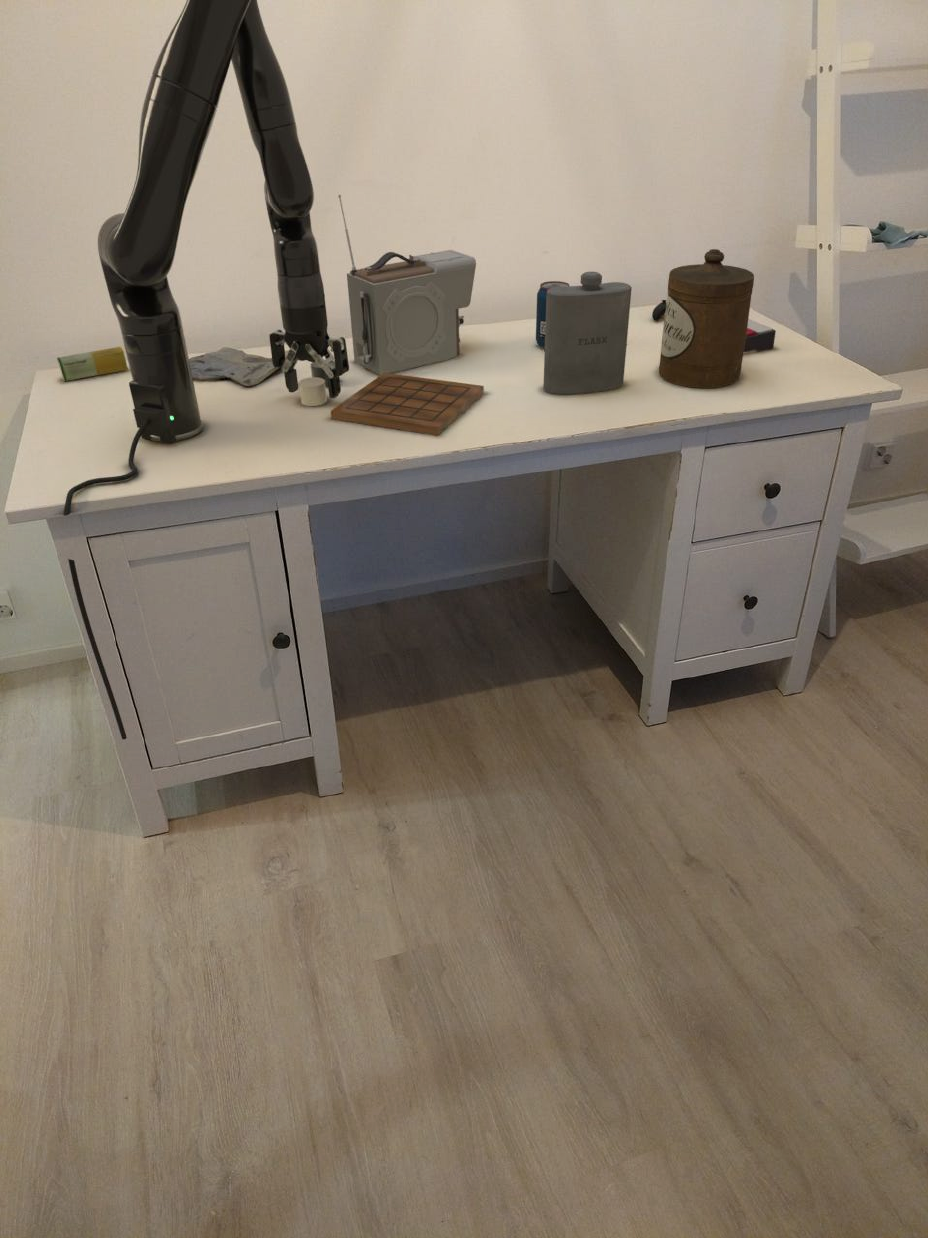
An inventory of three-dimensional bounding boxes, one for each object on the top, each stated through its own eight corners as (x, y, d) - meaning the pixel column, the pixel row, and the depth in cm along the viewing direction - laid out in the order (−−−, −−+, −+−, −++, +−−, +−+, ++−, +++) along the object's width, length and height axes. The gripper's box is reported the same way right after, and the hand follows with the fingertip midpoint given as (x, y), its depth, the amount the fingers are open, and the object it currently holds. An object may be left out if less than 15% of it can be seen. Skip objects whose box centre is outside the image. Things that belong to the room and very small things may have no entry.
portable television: (478, 352, 178) (477, 188, 161) (375, 377, 168) (362, 204, 150) (445, 337, 187) (441, 180, 169) (345, 360, 176) (330, 195, 159)
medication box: (64, 382, 168) (58, 362, 166) (61, 376, 170) (55, 357, 168) (128, 369, 173) (123, 350, 170) (125, 364, 175) (120, 344, 172)
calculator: (680, 326, 178) (741, 312, 182) (678, 347, 180) (738, 333, 185) (714, 341, 170) (777, 326, 174) (712, 363, 172) (774, 348, 177)
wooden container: (653, 361, 172) (665, 241, 159) (730, 361, 171) (749, 240, 159) (664, 389, 160) (679, 261, 147) (747, 388, 159) (769, 259, 147)
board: (437, 435, 145) (437, 426, 144) (331, 418, 151) (330, 410, 150) (483, 393, 160) (483, 385, 159) (385, 380, 166) (384, 372, 165)
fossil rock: (290, 368, 173) (288, 356, 171) (239, 394, 162) (236, 381, 161) (221, 355, 180) (219, 343, 178) (167, 378, 169) (165, 366, 168)
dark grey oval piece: (652, 318, 192) (653, 292, 193) (650, 330, 197) (651, 305, 198) (697, 319, 191) (699, 293, 192) (694, 331, 196) (695, 306, 197)
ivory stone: (318, 407, 156) (316, 387, 153) (296, 404, 157) (293, 384, 155) (331, 398, 159) (329, 378, 157) (309, 395, 160) (307, 375, 158)
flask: (549, 397, 157) (553, 280, 146) (539, 386, 162) (543, 272, 151) (628, 389, 160) (639, 274, 149) (617, 378, 165) (626, 265, 153)
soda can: (546, 338, 185) (548, 278, 178) (575, 343, 182) (579, 283, 175) (529, 347, 181) (530, 286, 174) (558, 353, 177) (561, 291, 170)
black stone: (329, 388, 163) (327, 369, 161) (308, 385, 165) (305, 366, 163) (342, 380, 167) (340, 361, 165) (320, 377, 168) (318, 358, 166)
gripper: (253, 302, 148) (268, 396, 157) (328, 309, 143) (338, 406, 152) (278, 290, 153) (290, 382, 163) (350, 297, 148) (359, 391, 158)
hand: (314, 393), depth 157 cm, fingers open, 8 cm apart
